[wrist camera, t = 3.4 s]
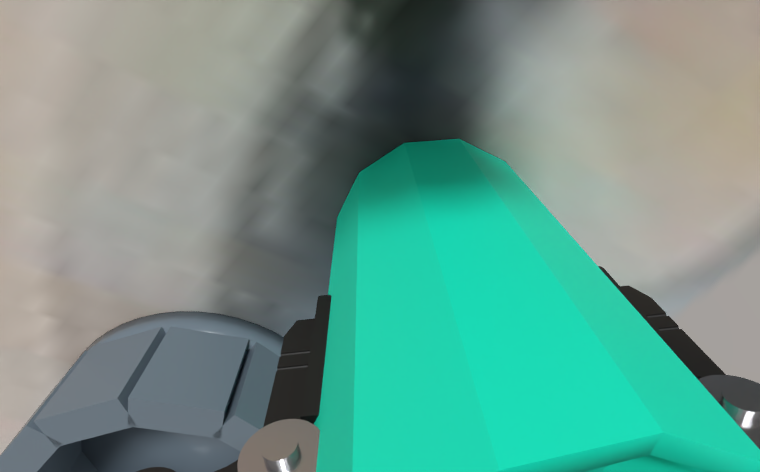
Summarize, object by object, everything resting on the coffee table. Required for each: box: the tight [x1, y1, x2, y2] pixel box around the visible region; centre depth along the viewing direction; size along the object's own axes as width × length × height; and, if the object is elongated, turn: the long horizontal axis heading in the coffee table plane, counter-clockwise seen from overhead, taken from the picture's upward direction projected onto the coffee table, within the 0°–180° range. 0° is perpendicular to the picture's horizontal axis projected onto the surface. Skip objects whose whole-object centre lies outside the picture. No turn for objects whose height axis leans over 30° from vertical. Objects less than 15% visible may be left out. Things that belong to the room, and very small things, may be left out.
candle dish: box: [0, 312, 284, 472], centre depth 16 cm, size 10×10×4 cm
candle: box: [314, 139, 760, 472], centre depth 10 cm, size 6×6×12 cm
